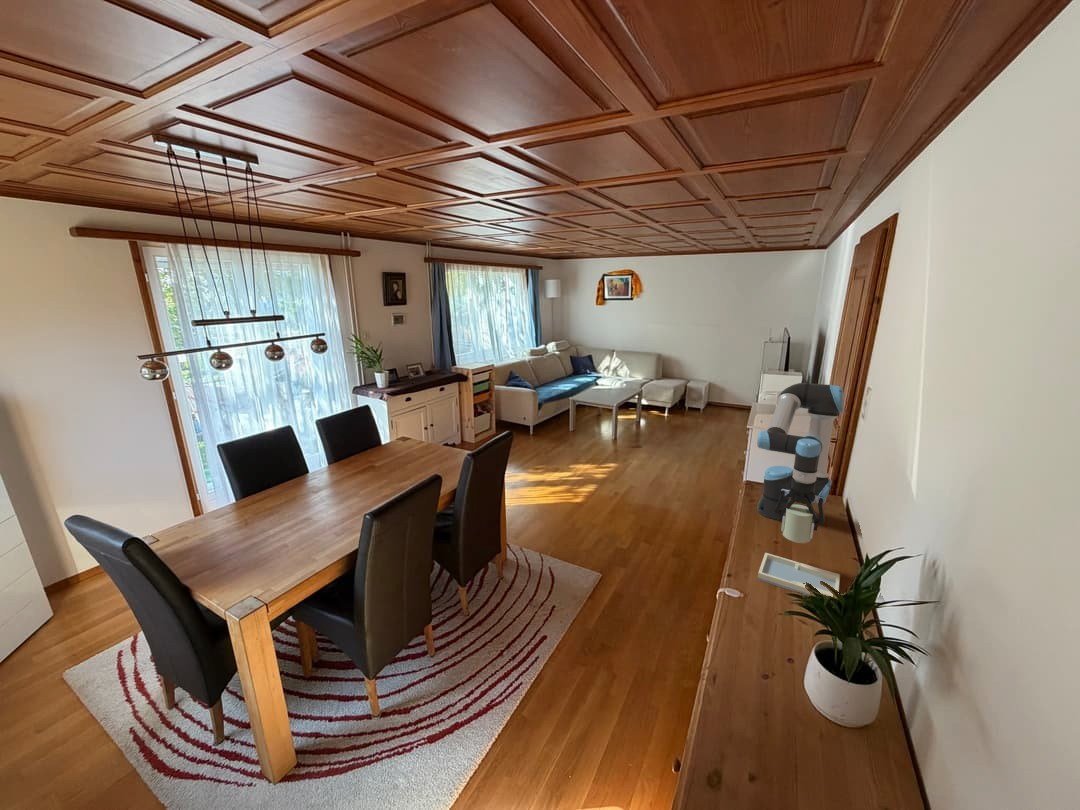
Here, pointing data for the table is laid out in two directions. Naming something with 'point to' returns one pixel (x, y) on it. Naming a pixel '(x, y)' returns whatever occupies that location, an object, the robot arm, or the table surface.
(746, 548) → the table surface
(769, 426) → the robot arm
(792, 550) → the table surface
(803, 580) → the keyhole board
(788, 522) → the can
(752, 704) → the table surface
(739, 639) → the table surface
